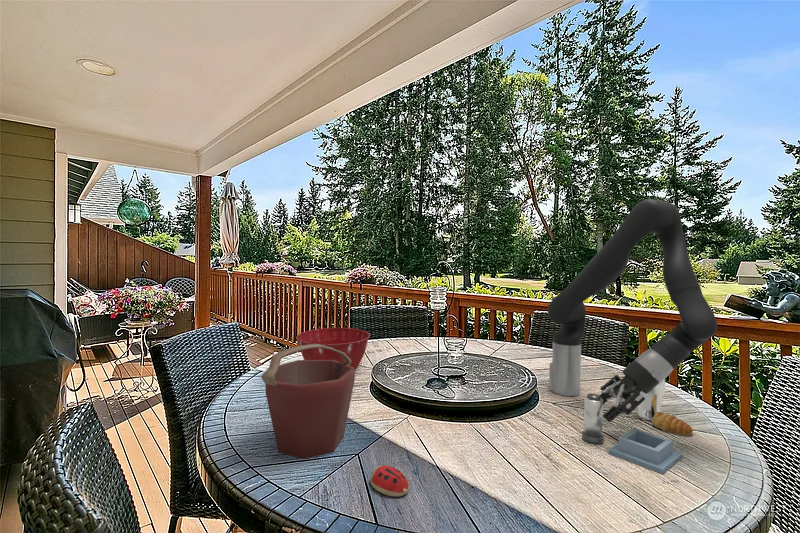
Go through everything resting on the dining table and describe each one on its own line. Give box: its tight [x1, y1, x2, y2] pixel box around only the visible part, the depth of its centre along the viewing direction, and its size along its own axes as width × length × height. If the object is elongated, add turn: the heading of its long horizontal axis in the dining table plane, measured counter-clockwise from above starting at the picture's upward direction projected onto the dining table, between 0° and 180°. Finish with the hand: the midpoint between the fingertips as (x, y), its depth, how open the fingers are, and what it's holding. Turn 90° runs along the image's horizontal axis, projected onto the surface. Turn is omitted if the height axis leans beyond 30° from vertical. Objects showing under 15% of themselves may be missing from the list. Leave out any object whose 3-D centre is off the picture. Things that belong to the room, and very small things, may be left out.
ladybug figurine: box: [369, 465, 410, 498], centre depth 89 cm, size 7×10×4 cm
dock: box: [607, 428, 684, 475], centre depth 103 cm, size 12×12×4 cm
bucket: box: [260, 344, 356, 460], centre depth 109 cm, size 24×22×25 cm
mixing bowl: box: [295, 327, 371, 371], centre depth 167 cm, size 28×28×16 cm
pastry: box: [651, 411, 694, 437], centre depth 117 cm, size 9×7×4 cm
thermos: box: [581, 392, 605, 446], centre depth 111 cm, size 5×5×12 cm
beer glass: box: [637, 378, 666, 422], centre depth 126 cm, size 7×7×15 cm
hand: (599, 412), depth 110 cm, fingers open, 8 cm apart
